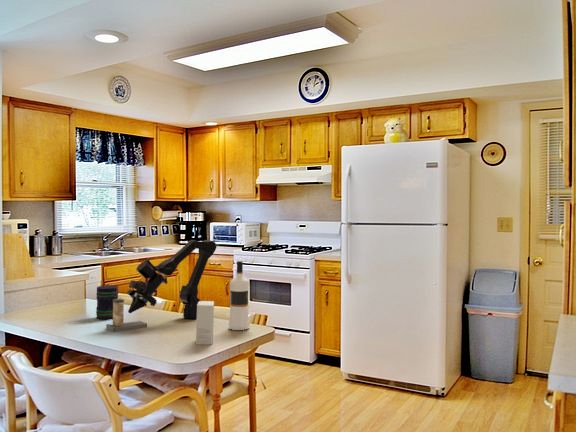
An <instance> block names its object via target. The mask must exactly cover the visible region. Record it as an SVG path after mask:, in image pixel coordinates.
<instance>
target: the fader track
mask: <svg viewBox="0 0 576 432" xmlns="http://www.w3.org/2000/svg"><path fill="white" fill-rule="evenodd" d="M105 327H106V330H107V331H111V332H113V333H114V332H121V331H127V330H133V329H134V330H135V329H141V328H147V327H148V323H147V322H145V321H142V320H136V321H135V320H134V321H128V322H123V325H122V326H115V325H113V324H110V323H107V324H106V326H105Z"/></svg>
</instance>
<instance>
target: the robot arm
mask: <svg viewBox="0 0 576 432" xmlns="http://www.w3.org/2000/svg"><path fill="white" fill-rule="evenodd" d="M196 249H198V258H197V260H196V263H195V265H194V268H193V270H192V273H191V275H190V276H189V277H190V278H189V280H188V282H187V284H186V285H182V286H181V290H180V291H179V292H178V293H179V299H180V301H181V302H182V304H183V306H184V308H183V310H182V311H183V316H182V317H183V319H184V320H197V304H198V302H199V301H201V299H200V298H199V297H198V294H199V288H198V287H199V284H200V282H201V280H202V279H201V278H202V276H203V273H204V270H205V269H206V266H207V263H208V260H209V259H210V258H211V257H212V256H213V255H214V254H215V252H216V250H217V244H216V242H215V241H214V240H207V239H204V240H202V241H201V240H200V241H199V240H195V239H190V240H189V241H188V242H187V243H185V244H184V246H182V247H181V249H179V250H178V251H177V252H176V253H174V254H173V255H172V256H171V257H170V258H167V259H165V260H163V261H161V262H159V264H158V265H154V264H153V263H152V262H151V261H150V260H149V259H146V260H145V261H143V262H141V263H140V264H138V266H137V267H136V272H138V273H139V274H140V276H142V277H143V278H144V279H145V280H146V279H147V281H146V282H145V281H142V280H139V281H135V280H132V279H131V281H130V283H129V285H128V288H130V289H129V290H127V292H126V294H127V295H129V297H130V298H132V299H131V300H132V301H131V304H130V306H129V309H128V310H127V312H128V313H129V314H132V313H134V312H136V311H138V310H140V309H142V308H144V307H147V306H148V303H149V304H150V306H152V307H155V306H156V305H157V299H156V298H155V297H154V296H153V294H157V292H158V291H157V290H158V288H159V287H160V286H161V285H162V284H166V285H167V284H168V278H167V277H165V276H170V277H171V276H172V275H173V274H174V272H175V271H176V270H177V268H178V266H179V264H180V263H181V262H183V261H184V259H186V258H187V257H188V256H190V254H192V253H193V251H195V250H196Z"/></svg>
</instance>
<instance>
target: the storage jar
mask: <svg viewBox="0 0 576 432" xmlns="http://www.w3.org/2000/svg"><path fill="white" fill-rule="evenodd" d="M113 299H119V286H118V285H100V286H96V302H97V303H96V307H95V308H96V309H95V310H96V311H95V312H96V314H95V315H96V320H98V319H99V321H109V320H108V319H112V320H113Z"/></svg>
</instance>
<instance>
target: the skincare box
mask: <svg viewBox="0 0 576 432" xmlns="http://www.w3.org/2000/svg"><path fill="white" fill-rule="evenodd" d="M214 319H215V301H214V300H200V301H199V302H198V304H197V319H196V323H195V324H196V327H195V328H196V331H195V332H196V333H195V345H197V346H200V345H201V346H202V345H203V346H205V345H208V346H209V345H210V344H211V346H212V345H213V342H214V341H213V340H214V323H215V321H214Z"/></svg>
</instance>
